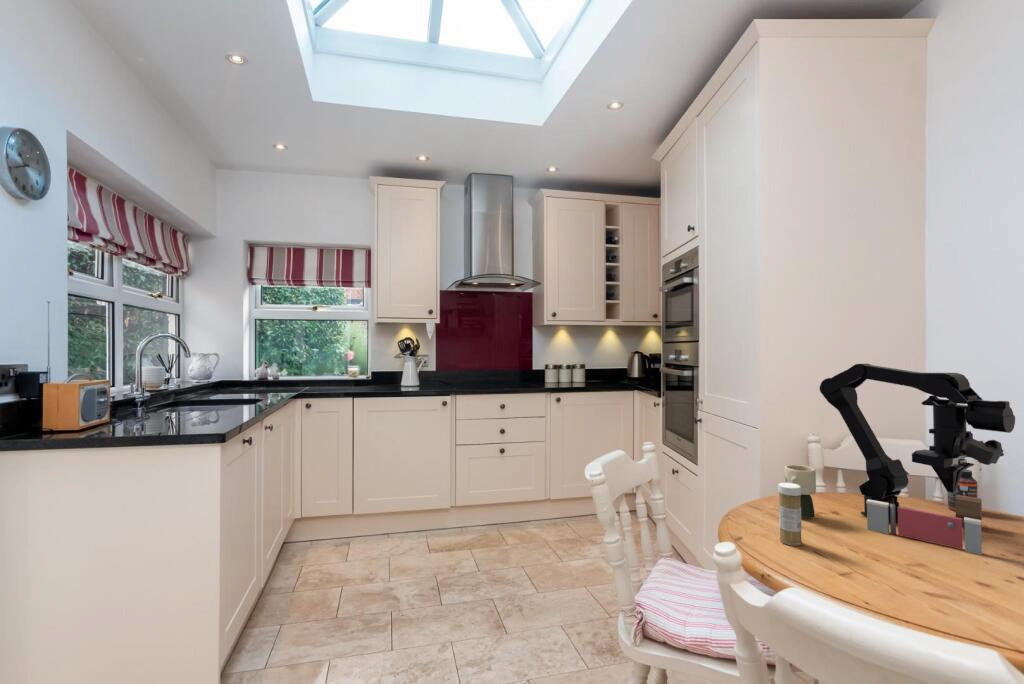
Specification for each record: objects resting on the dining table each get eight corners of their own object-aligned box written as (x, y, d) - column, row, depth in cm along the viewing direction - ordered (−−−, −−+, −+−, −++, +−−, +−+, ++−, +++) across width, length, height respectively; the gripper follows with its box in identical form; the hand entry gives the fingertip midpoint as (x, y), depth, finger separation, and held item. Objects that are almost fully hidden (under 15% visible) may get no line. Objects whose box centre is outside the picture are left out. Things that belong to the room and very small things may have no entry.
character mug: (794, 508, 130) (793, 462, 131) (823, 515, 125) (822, 466, 125) (778, 517, 123) (777, 468, 124) (808, 525, 118) (807, 474, 118)
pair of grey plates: (866, 529, 115) (866, 500, 115) (868, 527, 116) (867, 498, 116) (982, 555, 100) (981, 522, 100) (982, 552, 101) (981, 519, 101)
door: (897, 535, 110) (896, 508, 110) (898, 533, 111) (898, 506, 111) (961, 550, 102) (961, 520, 102) (962, 547, 103) (961, 518, 103)
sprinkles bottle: (789, 537, 110) (787, 481, 111) (807, 545, 106) (805, 486, 106) (774, 540, 109) (773, 483, 109) (792, 548, 104) (791, 488, 105)
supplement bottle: (972, 516, 123) (971, 473, 123) (943, 509, 128) (942, 468, 129) (981, 512, 126) (980, 470, 126) (953, 505, 131) (952, 465, 131)
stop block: (981, 531, 113) (980, 502, 113) (956, 526, 116) (955, 498, 116) (982, 526, 116) (981, 498, 116) (957, 521, 119) (956, 494, 119)
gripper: (970, 434, 98) (972, 508, 98) (1018, 428, 105) (1019, 497, 105) (909, 426, 109) (911, 493, 108) (956, 421, 115) (957, 484, 115)
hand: (950, 492), depth 109 cm, fingers closed
